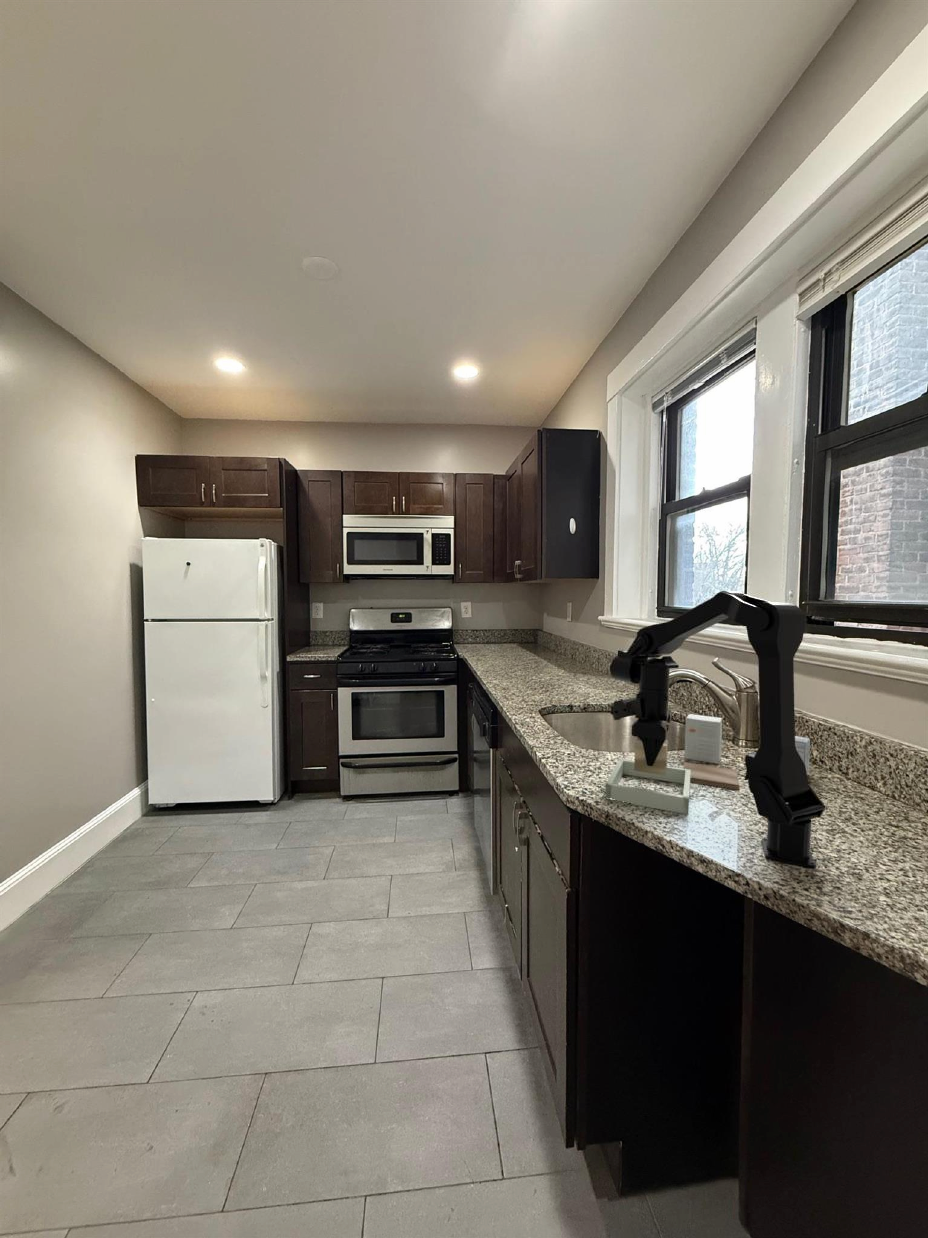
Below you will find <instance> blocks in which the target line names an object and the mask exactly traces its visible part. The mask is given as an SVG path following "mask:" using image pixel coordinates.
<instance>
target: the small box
mask: <svg viewBox="0 0 928 1238" xmlns="http://www.w3.org/2000/svg"><path fill="white" fill-rule="evenodd" d="M684 732H685V733H684V759H687V760H692V761H698V762H705V763H711V764H717V765H719V763H720V761H721V759H722V743H723V742H722V740H723V739H722V738H723V737H722V736H723V735H722V734H723V718H722V717H717V716H709V715H708V716H707V715H700V714H699V715H698V714H691V713H689V714H688V715H687V716H686V717H685V730H684Z"/></svg>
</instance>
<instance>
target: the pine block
mask: <svg viewBox="0 0 928 1238" xmlns="http://www.w3.org/2000/svg"><path fill="white" fill-rule="evenodd" d="M634 743H635V744H634V761H635V763H634V771H640V772H646V773H652V774H659V775H666V770H667V766H668V750H669V749H668V745H669V740H667V739H666V740H665V741H664V743H663V746H662V748H661V750H660V752H659V754H658V756H657V758H656V760H655V762H654V764H653V766H648V765H647V763H646V758H645V753H644V748H643V743H642V741H641V740H640V739H639V738H638V737H636V739H635V742H634Z"/></svg>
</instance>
